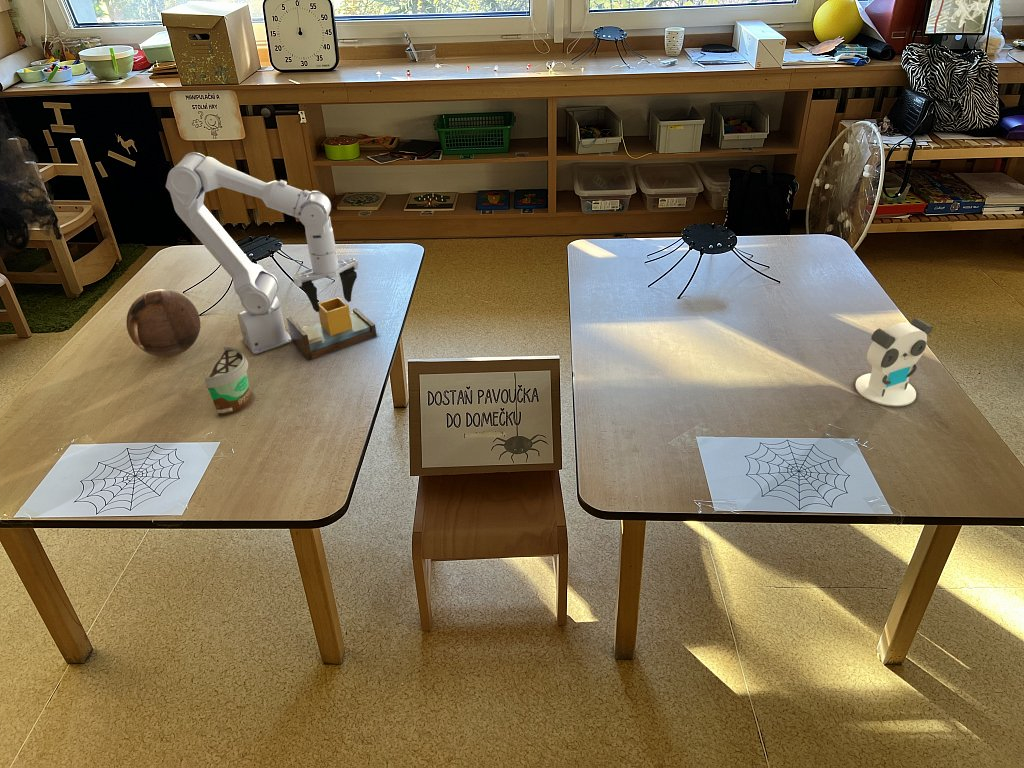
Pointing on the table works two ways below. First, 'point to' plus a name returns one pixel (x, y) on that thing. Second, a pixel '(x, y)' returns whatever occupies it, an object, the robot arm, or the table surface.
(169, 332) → the wooden sphere
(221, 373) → the food container
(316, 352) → the toy bed
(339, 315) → the small bin
